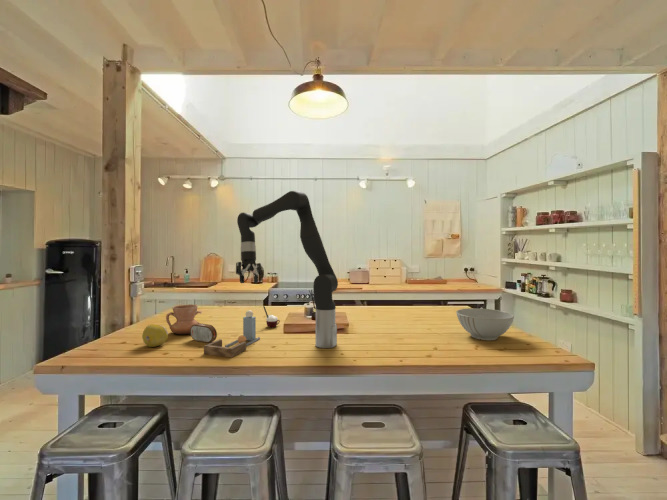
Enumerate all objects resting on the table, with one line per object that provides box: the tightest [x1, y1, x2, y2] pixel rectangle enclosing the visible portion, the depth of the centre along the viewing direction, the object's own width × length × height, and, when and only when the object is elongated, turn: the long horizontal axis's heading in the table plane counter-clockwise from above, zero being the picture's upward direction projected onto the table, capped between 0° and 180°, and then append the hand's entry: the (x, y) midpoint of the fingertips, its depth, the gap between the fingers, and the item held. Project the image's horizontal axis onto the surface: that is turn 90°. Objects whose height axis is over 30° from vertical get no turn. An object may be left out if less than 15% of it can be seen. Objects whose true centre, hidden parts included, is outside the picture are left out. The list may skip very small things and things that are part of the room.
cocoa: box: [262, 305, 281, 328], centre depth 198 cm, size 10×6×12 cm, turn 98°
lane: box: [224, 336, 261, 348], centre depth 166 cm, size 8×17×1 cm, turn 161°
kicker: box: [242, 309, 257, 342], centre depth 171 cm, size 5×4×14 cm
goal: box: [203, 339, 247, 358], centre depth 153 cm, size 14×10×4 cm
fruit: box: [141, 323, 169, 348], centre depth 162 cm, size 10×11×10 cm
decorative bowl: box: [455, 307, 515, 341], centre depth 178 cm, size 27×27×12 cm
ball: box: [237, 334, 247, 344], centre depth 165 cm, size 4×4×4 cm
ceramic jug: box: [165, 303, 203, 335], centre depth 185 cm, size 18×14×14 cm
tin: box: [190, 322, 218, 344], centre depth 169 cm, size 15×3×8 cm, turn 65°
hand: (249, 283), depth 177 cm, fingers open, 8 cm apart
